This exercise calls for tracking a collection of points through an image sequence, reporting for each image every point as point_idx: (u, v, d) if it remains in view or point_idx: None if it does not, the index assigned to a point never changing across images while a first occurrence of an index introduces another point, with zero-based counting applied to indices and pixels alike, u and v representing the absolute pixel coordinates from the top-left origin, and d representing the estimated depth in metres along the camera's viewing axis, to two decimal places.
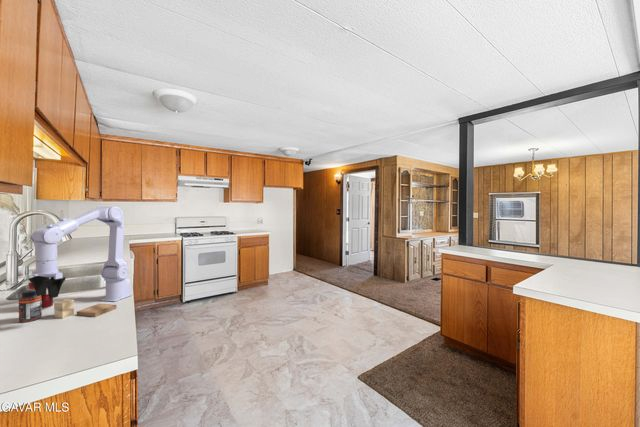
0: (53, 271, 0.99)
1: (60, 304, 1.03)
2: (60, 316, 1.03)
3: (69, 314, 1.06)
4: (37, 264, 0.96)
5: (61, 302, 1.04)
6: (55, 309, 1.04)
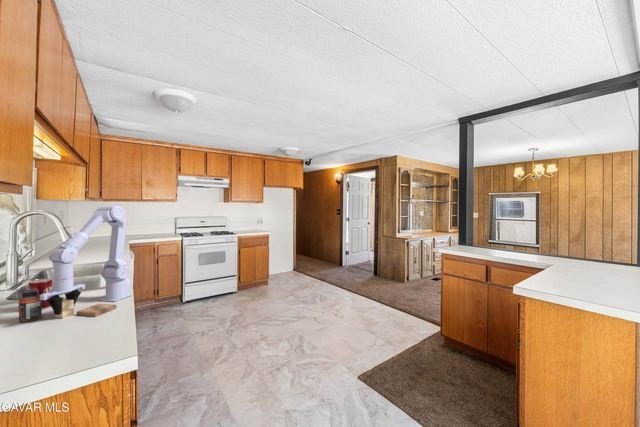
0: (56, 290, 1.02)
1: None
2: (60, 316, 1.03)
3: (69, 314, 1.06)
4: None
5: None
6: None
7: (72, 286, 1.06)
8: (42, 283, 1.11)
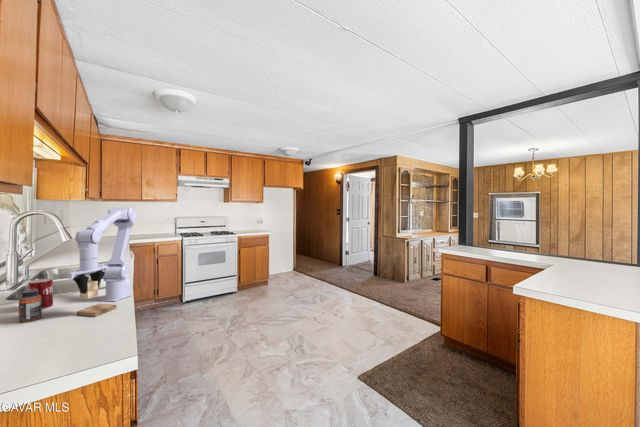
0: (82, 270, 1.06)
1: None
2: (85, 296, 1.07)
3: (94, 294, 1.09)
4: None
5: None
6: None
7: (97, 266, 1.09)
8: (42, 283, 1.11)
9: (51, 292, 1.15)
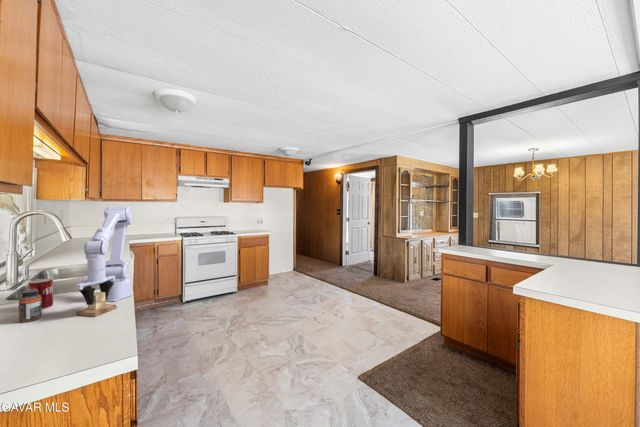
0: (90, 281, 1.07)
1: (93, 296, 1.08)
2: (93, 308, 1.08)
3: (101, 306, 1.10)
4: None
5: (94, 294, 1.09)
6: None
7: (104, 277, 1.11)
8: (42, 283, 1.11)
9: (51, 292, 1.15)
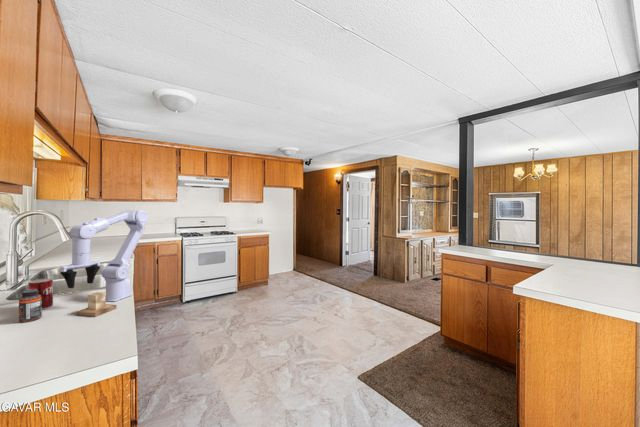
0: (74, 264, 1.09)
1: (93, 296, 1.08)
2: (93, 308, 1.08)
3: (101, 306, 1.10)
4: None
5: (94, 294, 1.09)
6: (88, 301, 1.08)
7: (89, 261, 1.13)
8: (42, 283, 1.11)
9: (51, 292, 1.15)
